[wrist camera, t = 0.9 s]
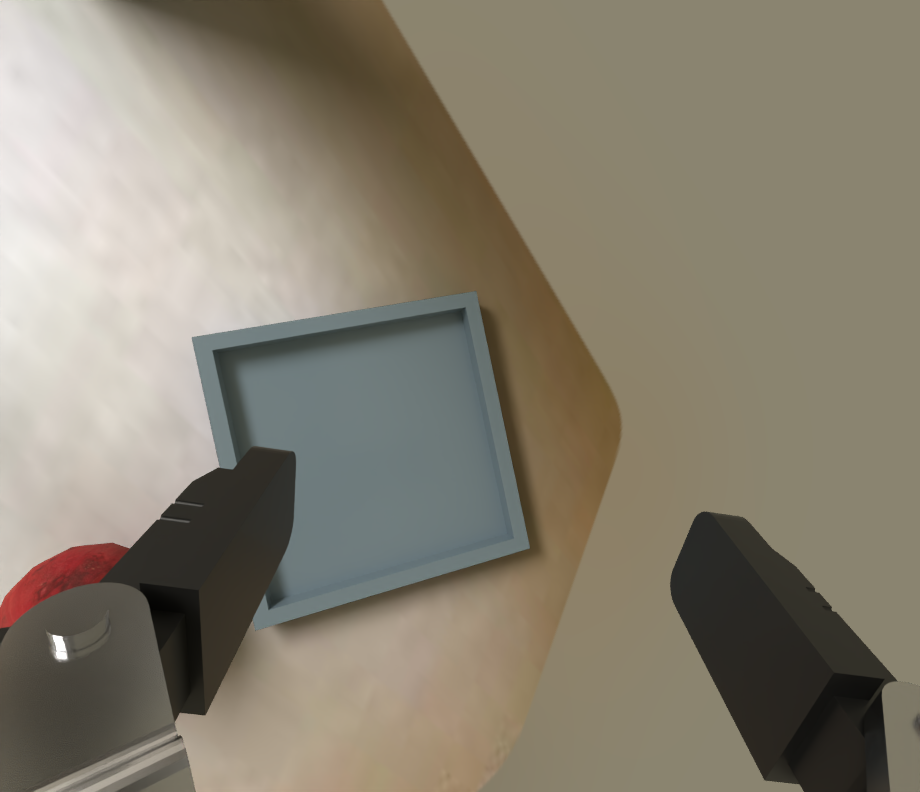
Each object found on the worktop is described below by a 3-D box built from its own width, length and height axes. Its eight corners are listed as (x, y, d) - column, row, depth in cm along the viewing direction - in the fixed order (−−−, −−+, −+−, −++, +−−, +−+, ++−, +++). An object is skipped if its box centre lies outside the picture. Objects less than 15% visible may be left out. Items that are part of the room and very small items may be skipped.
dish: (201, 342, 26) (191, 337, 24) (468, 298, 30) (476, 291, 28) (261, 616, 26) (255, 630, 25) (519, 540, 30) (530, 548, 28)
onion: (89, 511, 25) (-28, 556, 17) (204, 548, 26) (144, 606, 18) (35, 625, 24) (-113, 725, 16) (156, 657, 25) (72, 766, 17)
